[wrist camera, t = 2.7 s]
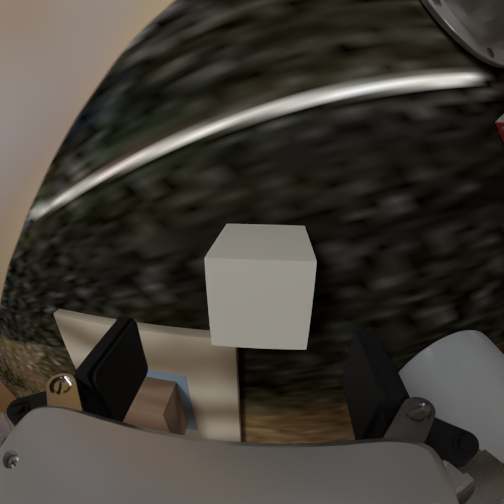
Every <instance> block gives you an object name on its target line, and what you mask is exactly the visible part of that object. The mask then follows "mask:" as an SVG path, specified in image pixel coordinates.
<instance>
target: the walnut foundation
mask: <svg viewBox="0 0 504 504" xmlns="http://www.w3.org/2000/svg"><path fill="white" fill-rule="evenodd" d="M123 422H124V423H128V424H132V425H136V426H140V427H144V428H148V429H153V430H158V431H163V432H168V433H173V434H179V435H185V432H186V429H187V425H188V423H187V419H186V416H185V412H184V409H183V405H182V402H181V398H180V394H179V390H178V387H177V383H176V382H175V381H169V380H163V379H157V378H152V377H147V376H146V377H145V379H144V381H143V383H142V385H141V387H140V389H139V391H138V393H137V395H136V397H135V399H134V401H133V402H132V404H131V406H130V408H129V410H128V412H127V414H126V416H125V418H124V420H123Z"/></svg>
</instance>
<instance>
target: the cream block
mask: <svg viewBox="0 0 504 504" xmlns="http://www.w3.org/2000/svg"><path fill="white" fill-rule="evenodd" d="M204 259H205V273H206V287H207V300H208V311H209V322H210V333H211V343H212V345H216V346H229V347H243V348H262V349H294V350H306V349H307V342H308V335H309V327H310V320H311V312H312V303H313V294H314V285H315V276H316V265H317V261H316V257H315V254H314V251H313V249H312V246H311V243H310V240H309V237H308V234H307V231H306V228H305V226H292V225H258V224H226V226H225V227H224V229H223V230H222V232H221V233H220V235H219V236H218V238H217V239H216V241H215V242H214V244H213V245H212V247H211V249H210V250H209V252H208V253H207V255H206V256H205V258H204Z"/></svg>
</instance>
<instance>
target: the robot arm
mask: <svg viewBox="0 0 504 504" xmlns="http://www.w3.org/2000/svg"><path fill="white" fill-rule="evenodd" d="M421 1H422V3H423V4H424V6H425V7H426V8H427V10H428V11H429V12H430V14H431V15H432V16H433V17H434V19H435V20H436V21H437V22H438V23H439V24H440V25H441V27H442V28H443V29H444V30H445V31H446V32H447V33H448V34H449V35H450V36H451V37H452V38H453V39H454V40H455V41H456V42H457V43H459V44H460V45H461V46H462V47H463V48H464V49H466V50H467V51H468V52H469V53H471V54H472V55H474V56H475V57H476V58H478V59H479V60H481V61H483V62H485V63H487V64H489V65H492V66H494V67H497V68H504V0H421ZM75 373H76V374H75V375H74V377H73V376H72V375H69V374H64V373H63V374H58V375H55V376H54V377H52V378H51V379H50V380H49V381H48V383H47V385H46V391H44V392H40V393H37V394H33V395H30V396H26V397H22V398H19V399H16V400H14V401H12V402H11V403H10V405H9V406H8V408H7V412H6V414H4V413H3V412H2V413H0V504H501V503H502V501H503V500H504V464H503V463H502V462H501V461H499V460H498V459H497V458H496V457H494V456H493V455H492V454H490V453H489V452H488V451H487V450H485V449H484V450H483V451H481V450H480V449H479V441H478V439H477V437H476V436H475V435H474V434H473V433H471V432H469V431H467V430H464V429H462V428H459V427H457V426H454V425H452V424H450V423H447V422H445V421H443V420H440V419H438V418H436V417H435V414H436V411H435V407H434V406H433V404H432V403H431V402H430V401H428V400H426V399H425V398H421V397H412V398H410V396H409V394H408V392H407V390H406V388H405V385H404V383H403V381H402V379H401V377H400V375H399V373H398V371H397V369H396V367H395V365H394V363H393V360H392V359H391V357H390V356H387V355H386V353H385V351H384V349H383V347H382V345H381V343H380V341H379V339H378V337H377V335H376V333H375V331H374V329H373V328H372V327H366V328H359V329H358V331H355V332H354V334H353V338H352V342H351V346H350V350H349V354H348V358H347V362H346V366H345V370H344V374H343V378H342V385H343V389H344V393H345V397H346V401H347V405H348V409H349V413H350V418H351V422H352V426H353V431H354V435H355V440H351V441H340V442H324V443H296V444H276V443H249V442H235V441H224V440H214V439H206V438H198V437H192V436H185V435H179V434H173V433H168V432H163V431H158V430H153V429H148V428H144V427H140V426H136V425H132V424H128V423H124V422H123V420H124V418H125V416H126V414H127V412H128V410H129V408H130V406H131V404H132V402H133V401H134V399H135V397H136V395H137V393H138V391H139V389H140V387H141V385H142V383H143V381H144V379H145V377H146V375H147V373H148V365H147V361H146V357H145V354H144V350H143V346H142V342H141V338H140V334H139V329H138V325H137V323H136V322H135V321H134V320H133V318H130V317H122V316H121V317H119V318H118V319H117V320H116V321H115V323H114V324H113V325H112V326H111V327H110V329H109V330H108V331H107V332H106V333H105V335H104V336H103V337H102V338H101V340H100V341H99V342H98V343H97V344H96V346H95V347H94V348H93V349H92V351H91V352H90V353H89V354H88V356H87V357H86V358H85V359H84V361H83V362H82V363H81V364H80V366H79V367H78V368H77V370H76V371H75Z"/></svg>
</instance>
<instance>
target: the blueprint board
mask: <svg viewBox="0 0 504 504" xmlns="http://www.w3.org/2000/svg"><path fill="white" fill-rule="evenodd" d="M54 317H55V319H56V322H57V325H58V327H59V330H60V333H61V335H62V338H63V340H64V343H65V345H66V347H67V350H68V352H69V354H70V357H71V359H72V361H73V363H74V366H75V368H76V370H77V368H78V367H79V366H80V364H81V363H82V362H83V361H84V359H85V358H86V357H87V356H88V354H89V353H90V352H91V351H92V349H93V348H94V347H95V346H96V344H97V343H98V342H99V341H100V340H101V338H102V337H103V336H104V335H105V333H106V332H107V331H108V330H109V329H110V327H111V326H112V325H113V324H114V323H115V321H116V320H117V319H112V318H106V317H100V316H94V315H89V314H83V313H78V312H73V311H68V310H63V309H58V310H57V311H56V312H55V313H54ZM136 323H137V325H138V329H139V334H140V338H141V342H142V346H143V350H144V354H145V357H146V361H147V365H148V373H147V375H146V376H147V377H152V378H157V379H163V380H169V381H175V382H176V383H177V387H178V390H179V394H180V398H181V402H182V405H183V409H184V412H185V416H186V419H187V423H188V425H187V429H186V432H185V436H192V437H198V438H206V439H214V440H224V441H235V442H242V434H241V415H240V394H239V371H238V347H229V346H216V345H212V343H211V333H210V331H209V330H198V329H187V328H178V327H169V326H161V325H153V324H145V323H138V322H136Z"/></svg>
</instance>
